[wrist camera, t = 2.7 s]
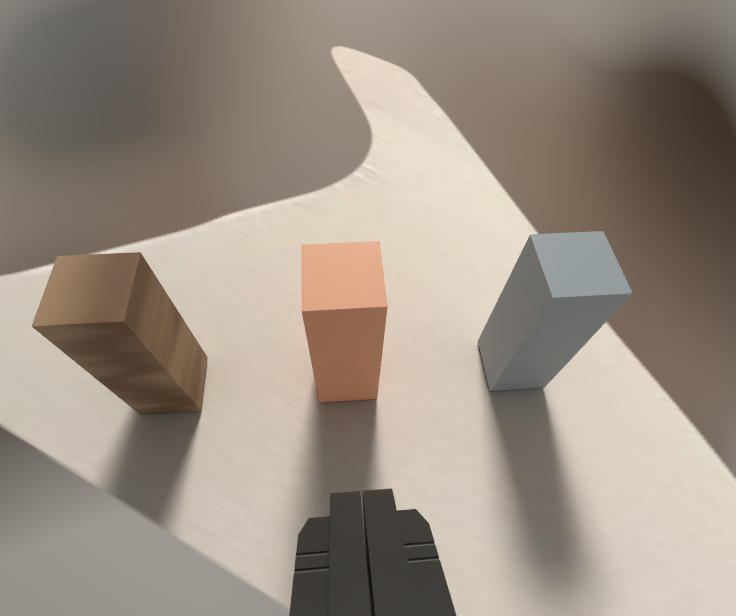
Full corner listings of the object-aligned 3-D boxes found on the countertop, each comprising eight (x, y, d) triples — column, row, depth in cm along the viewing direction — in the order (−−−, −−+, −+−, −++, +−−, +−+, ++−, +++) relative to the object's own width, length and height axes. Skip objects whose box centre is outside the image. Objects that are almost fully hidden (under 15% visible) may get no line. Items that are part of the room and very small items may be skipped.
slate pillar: (489, 391, 32) (552, 297, 22) (477, 341, 34) (530, 234, 24) (544, 387, 32) (632, 293, 22) (529, 338, 34) (603, 231, 24)
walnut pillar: (140, 414, 30) (31, 326, 20) (150, 360, 32) (57, 256, 22) (200, 410, 30) (123, 321, 20) (207, 357, 33) (140, 252, 22)
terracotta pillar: (319, 402, 31) (301, 311, 21) (317, 350, 33) (301, 244, 23) (376, 398, 31) (387, 306, 21) (372, 347, 33) (379, 241, 23)
